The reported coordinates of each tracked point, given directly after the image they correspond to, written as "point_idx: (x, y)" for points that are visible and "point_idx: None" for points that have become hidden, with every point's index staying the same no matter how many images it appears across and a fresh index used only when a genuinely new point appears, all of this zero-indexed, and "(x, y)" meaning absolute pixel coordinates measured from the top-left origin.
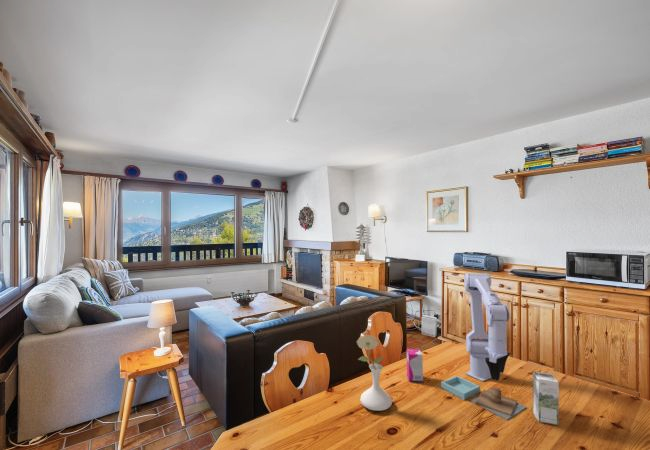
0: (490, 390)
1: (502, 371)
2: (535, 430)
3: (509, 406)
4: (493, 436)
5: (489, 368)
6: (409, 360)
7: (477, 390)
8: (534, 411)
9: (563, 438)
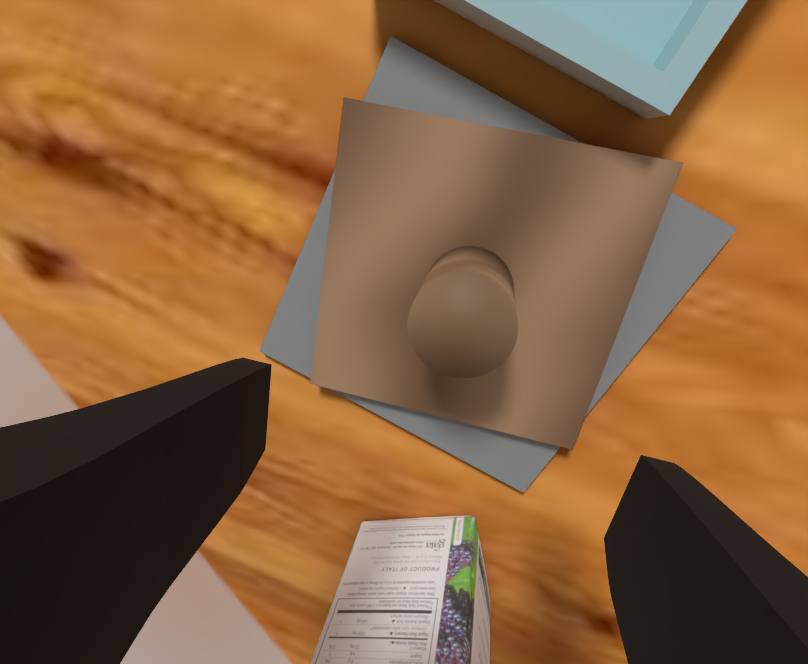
0: (729, 231)
1: (615, 554)
2: (258, 486)
3: (431, 386)
4: (22, 257)
5: (14, 437)
6: None
7: (610, 91)
8: (432, 536)
9: (272, 589)
